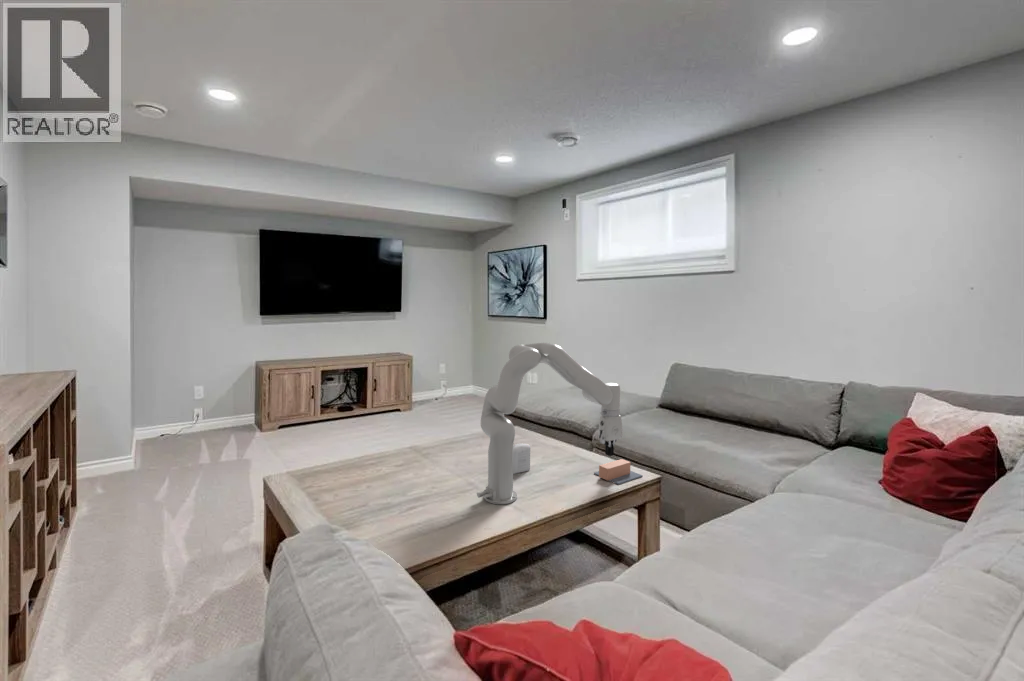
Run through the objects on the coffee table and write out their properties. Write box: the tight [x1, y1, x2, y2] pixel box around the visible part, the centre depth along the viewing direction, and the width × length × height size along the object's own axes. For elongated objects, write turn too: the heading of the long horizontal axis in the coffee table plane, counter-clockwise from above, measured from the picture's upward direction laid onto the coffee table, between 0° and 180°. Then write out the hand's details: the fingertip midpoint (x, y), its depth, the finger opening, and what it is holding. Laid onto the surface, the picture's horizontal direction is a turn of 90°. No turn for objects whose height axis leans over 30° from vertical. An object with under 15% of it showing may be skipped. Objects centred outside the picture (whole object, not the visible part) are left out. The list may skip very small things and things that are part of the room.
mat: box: [593, 470, 643, 485], centre depth 207 cm, size 15×14×1 cm
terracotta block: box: [598, 458, 632, 481], centre depth 205 cm, size 5×5×14 cm
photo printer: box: [513, 442, 531, 475], centre depth 210 cm, size 10×4×12 cm, turn 123°
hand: (609, 454), depth 202 cm, fingers closed
